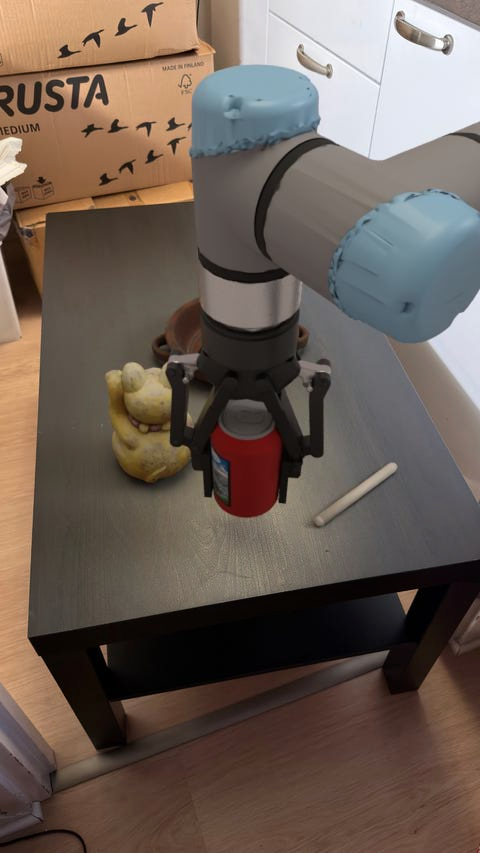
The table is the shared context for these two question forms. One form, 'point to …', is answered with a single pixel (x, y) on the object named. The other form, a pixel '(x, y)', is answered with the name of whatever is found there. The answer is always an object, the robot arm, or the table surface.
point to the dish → (194, 334)
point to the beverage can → (246, 459)
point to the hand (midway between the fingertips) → (246, 489)
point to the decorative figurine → (144, 422)
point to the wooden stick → (355, 494)
